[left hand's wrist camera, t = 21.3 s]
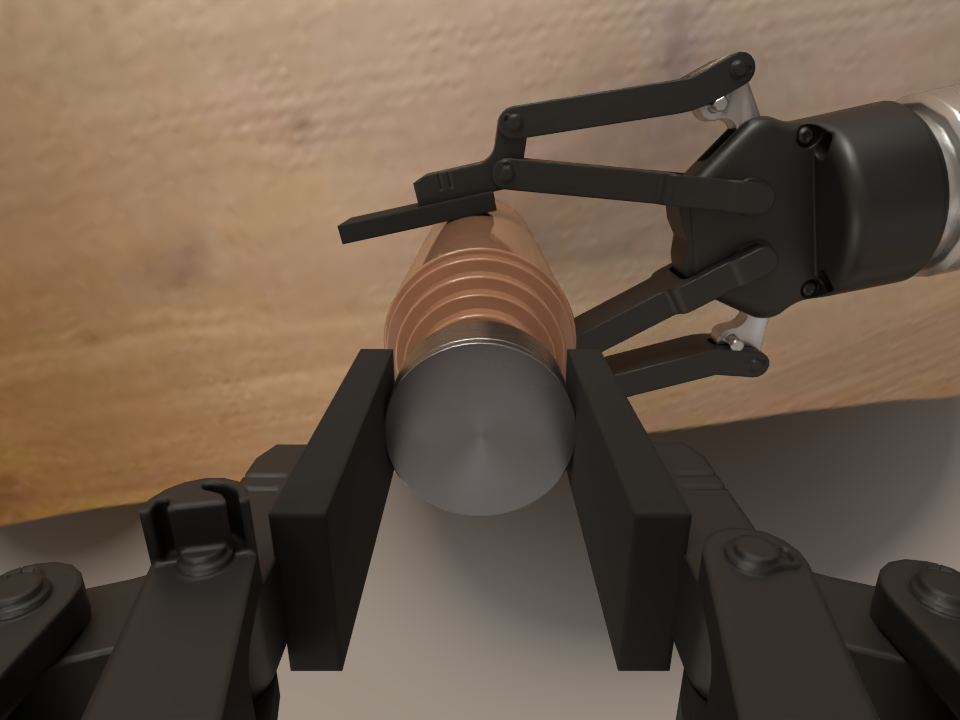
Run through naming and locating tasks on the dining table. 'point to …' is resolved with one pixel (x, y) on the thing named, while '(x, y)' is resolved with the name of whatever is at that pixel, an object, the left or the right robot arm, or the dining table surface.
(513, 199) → the dining table surface
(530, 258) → the bottle
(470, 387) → the cap
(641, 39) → the dining table surface
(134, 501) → the dining table surface
